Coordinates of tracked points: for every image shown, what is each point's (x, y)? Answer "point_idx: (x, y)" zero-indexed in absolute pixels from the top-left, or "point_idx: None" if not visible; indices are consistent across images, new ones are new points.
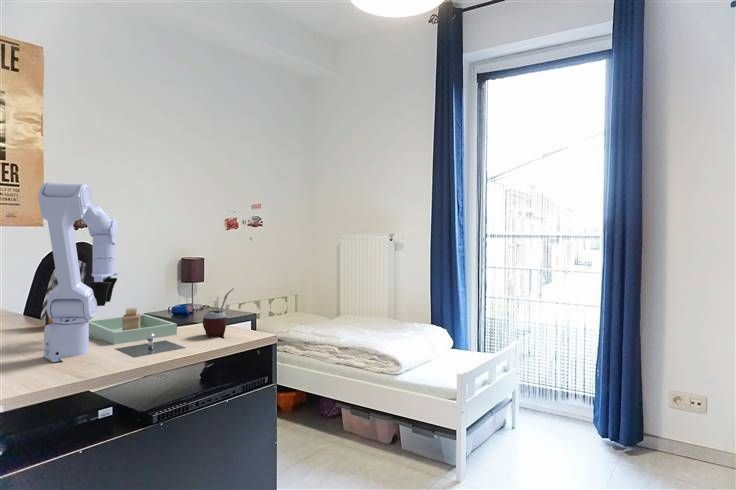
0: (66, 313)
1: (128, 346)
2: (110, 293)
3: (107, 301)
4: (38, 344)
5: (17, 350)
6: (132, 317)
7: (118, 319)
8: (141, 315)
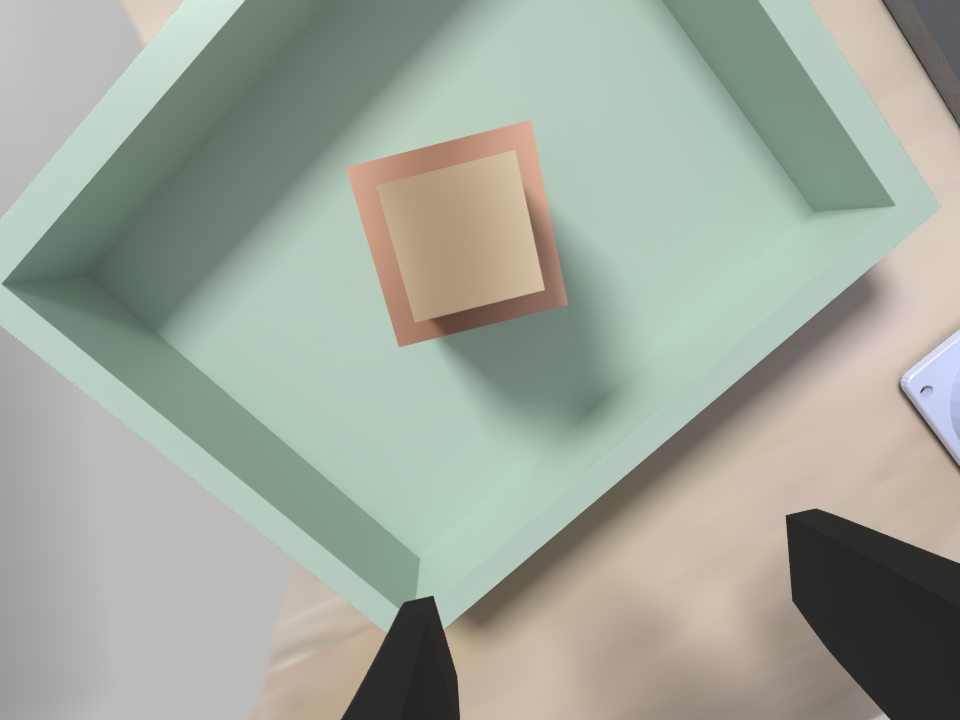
0: None
1: (952, 68)
2: (410, 709)
3: (438, 624)
4: (690, 687)
5: (816, 708)
6: (543, 194)
7: (229, 457)
8: (18, 295)
